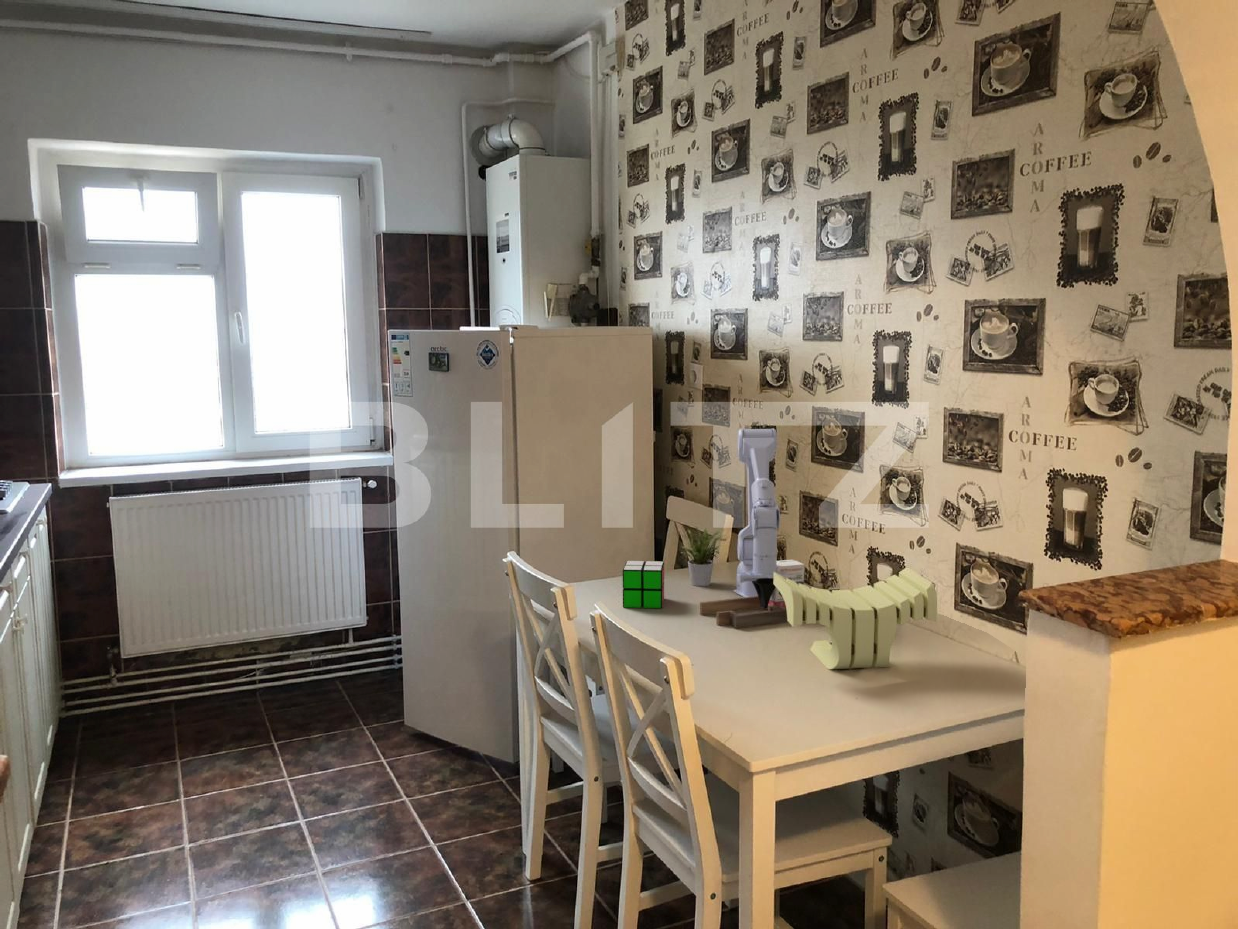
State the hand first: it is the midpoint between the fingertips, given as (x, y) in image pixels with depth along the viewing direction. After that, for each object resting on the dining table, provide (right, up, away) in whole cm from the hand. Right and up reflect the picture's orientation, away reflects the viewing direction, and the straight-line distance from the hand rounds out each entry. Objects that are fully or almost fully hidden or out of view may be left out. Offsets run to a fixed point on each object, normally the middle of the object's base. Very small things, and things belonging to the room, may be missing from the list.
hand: (764, 608), depth 244 cm
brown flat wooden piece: (+1, -1, -1) cm, 2 cm away
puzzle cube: (-30, 0, +10) cm, 31 cm away
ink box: (+5, -1, +4) cm, 6 cm away
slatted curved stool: (+13, -6, -34) cm, 37 cm away
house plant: (-12, +2, +28) cm, 31 cm away
